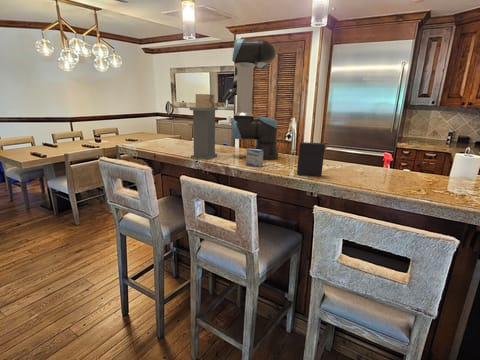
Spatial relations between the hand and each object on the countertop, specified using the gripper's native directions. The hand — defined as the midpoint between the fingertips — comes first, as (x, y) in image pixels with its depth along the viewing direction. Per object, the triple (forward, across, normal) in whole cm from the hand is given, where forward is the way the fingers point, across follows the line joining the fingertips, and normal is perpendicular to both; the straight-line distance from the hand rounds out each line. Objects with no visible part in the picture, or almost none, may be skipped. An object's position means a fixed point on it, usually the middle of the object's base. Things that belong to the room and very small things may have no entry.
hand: (236, 108), depth 191 cm
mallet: (+15, +8, +20) cm, 27 cm away
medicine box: (+54, -18, +18) cm, 59 cm away
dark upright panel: (+63, -45, +24) cm, 81 cm away
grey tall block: (+43, +13, +11) cm, 46 cm away
